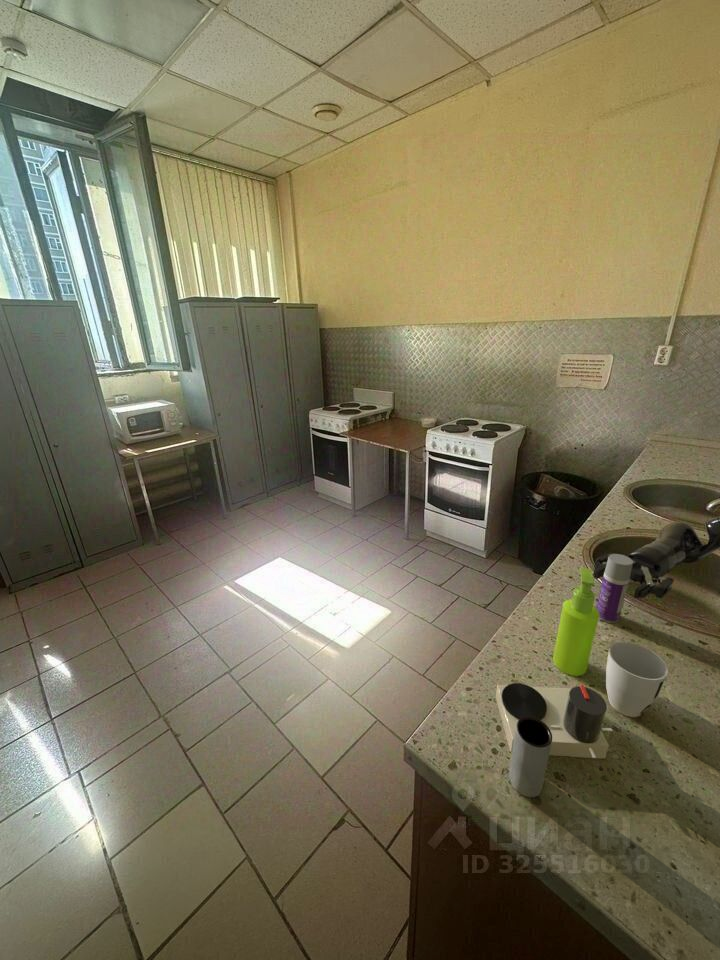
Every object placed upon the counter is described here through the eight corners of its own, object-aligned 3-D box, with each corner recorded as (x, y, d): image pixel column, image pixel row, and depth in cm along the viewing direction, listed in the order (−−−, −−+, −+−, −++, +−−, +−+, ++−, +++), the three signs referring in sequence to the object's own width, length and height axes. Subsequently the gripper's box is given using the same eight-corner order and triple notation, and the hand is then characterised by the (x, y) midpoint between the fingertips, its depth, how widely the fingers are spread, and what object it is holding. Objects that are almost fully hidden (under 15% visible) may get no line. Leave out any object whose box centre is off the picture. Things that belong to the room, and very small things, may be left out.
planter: (531, 762, 60) (540, 713, 56) (548, 794, 56) (559, 744, 52) (503, 767, 59) (510, 718, 56) (518, 800, 55) (527, 750, 51)
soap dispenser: (585, 653, 79) (604, 569, 72) (587, 679, 73) (608, 590, 66) (553, 645, 82) (568, 562, 74) (552, 669, 76) (569, 582, 69)
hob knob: (605, 745, 59) (613, 715, 57) (569, 741, 59) (576, 711, 57) (591, 715, 63) (598, 686, 61) (558, 712, 64) (564, 683, 62)
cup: (654, 734, 63) (670, 687, 60) (597, 711, 67) (608, 666, 64) (651, 696, 70) (665, 652, 66) (599, 677, 74) (609, 635, 70)
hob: (586, 701, 69) (589, 688, 68) (623, 774, 58) (628, 759, 57) (495, 697, 70) (497, 684, 69) (514, 767, 59) (516, 752, 58)
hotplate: (538, 686, 69) (538, 684, 69) (553, 723, 62) (553, 721, 62) (497, 684, 69) (497, 682, 69) (507, 721, 63) (507, 718, 63)
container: (591, 615, 90) (604, 558, 84) (600, 606, 92) (612, 551, 87) (614, 626, 86) (629, 567, 81) (622, 616, 89) (637, 559, 84)
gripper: (623, 535, 99) (586, 555, 91) (691, 561, 87) (655, 586, 79) (617, 561, 101) (580, 582, 93) (682, 589, 90) (647, 616, 82)
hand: (615, 584), depth 86 cm, fingers open, 8 cm apart
